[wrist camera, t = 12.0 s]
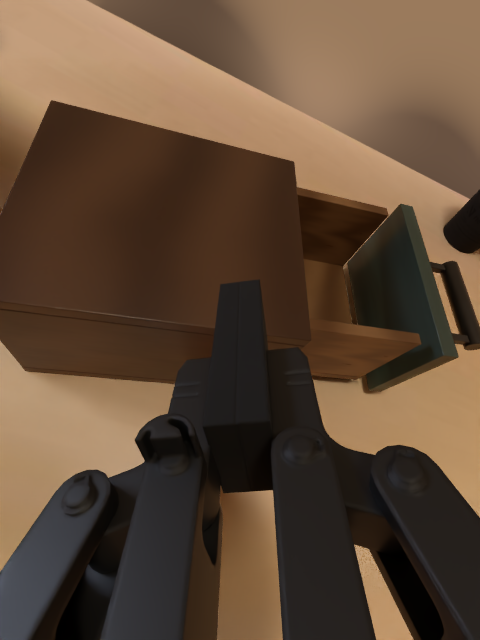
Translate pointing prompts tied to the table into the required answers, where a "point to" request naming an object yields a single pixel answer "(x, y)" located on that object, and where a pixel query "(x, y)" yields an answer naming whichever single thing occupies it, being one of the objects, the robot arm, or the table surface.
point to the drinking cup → (465, 227)
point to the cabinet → (142, 247)
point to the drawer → (377, 294)
